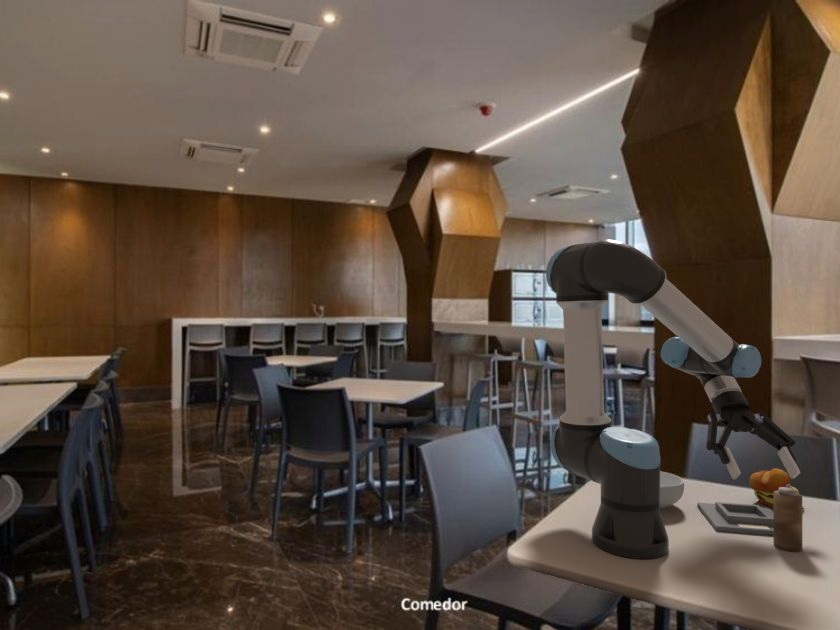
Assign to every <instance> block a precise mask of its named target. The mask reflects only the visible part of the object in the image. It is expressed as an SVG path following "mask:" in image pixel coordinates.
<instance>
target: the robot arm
mask: <svg viewBox="0 0 840 630" xmlns="http://www.w3.org/2000/svg"><path fill="white" fill-rule="evenodd" d="M545 269H546V270H545V279H546V283H547V285H548V287H550V290H551V291H552V292H553V293H554V294H555V297H556V298H555V299H556V300H555V301H556V302H555V303H556V304H557V305H558V306H559V307H560V308H561V309H562V311H563V312H562V315H563V345H564V346H563V348H564V350H563V351H564V352H563V353H564V357H563V358H564V359H563V360H564V390H565V393H564V394H565V398H564V399H565V411H564V412H563V413H562V414H561V415H560V417H559V421H558V422H559V424H558V425H557V426H556V427H555V428H554V431H553V432H551V433H552V434H551V436H550V443H549V444H550V446H549V447H550V451H551V455H552V459H554V461H555V463H556V464H557V465H558V466H559V467H560V468H562V469H563V470H565V471H567V472H568V473H570V474H572V475H575V476H578V477H582V478H584V479H586V480H589V481H592V482H594V483H597V484H599V485H600V505H599V508H598V510H597V513H596V515H595V519H594V521H593V525H592V528H591V541H592V542H593V544H594V545H595V546H597V547H598V548H599V549H600V550H601V549H602V550H603V551H605V552H607V553H609V554H613V555H616V556H619V557H620V556H621V557H625V558H631V559H641V560H642V559H645V560H647V559H656V558H660V557H663V556H665V555H667V554H668V552H669V542H670V540H669V536H668V533H667V530H666V526H665V523H664V520H663V517H662V514H661V511H660V510H661V509H659V500H660V471H661V462H662V461H661V459H662V458H661V455H660V446H659V442H658V441H657V439H656V438H654V437H653V435H650V434H649V433H647V432H645V431H642V430H638V429H634V428H628V427H621V426H612V418H611V417H610V416H608V414H606V412H605V403H604V402H605V401H604V399H605V397H604V360H603V359H604V357H603V356H604V355H603V354H604V352H603V322H602V321H603V318H602V317H603V316H602V315H603V314H602V313H603V312H602V310H603V308H604V307H605V305H607V304H608V303H609V294H615V295H618V296H621V297H623V298H625V299H626V300H627V301H628V302H630V303H631V304H632V305H641V306H642V307H643V308H644V309H645V310H646V311H648V312H649V314H651V315H652V316H653V317H655V319H657V320H658V321H660V323H661V324H662V325H663V326H665V327H666V328H667V329H668V330H670V331H671V332H672V333H673V334H674V335H675V336H673V337H669V338H668V339H667V340H665V342H664V343H663V345H662V347H661V349H660V350H661V351H660V357H661V360H662V361H663V363H664V364H666V365H668V366H669V367H671V368H672V369H676V370H679V371H681V372H684V373H686V374H689V375H691V376H693V377H696V378H697V379H699V381H700V383H701V385H702V386H703V390H704V392H705V393H706V395H707V397H708V399H709V402H710V403H711V406H712V408H713V409H714V411H710V413H709V414H708V415H707V417H706V421H707V423H708V424H707V427H708V428H707V437H706V447H705V448H706V450H707V451H713V453H714V455H717V456H718V457H719V460H720V461H721V463H722V464H723V465H725V466H726V469H727V471H728V472H729V474H730V476H731V479H732V480H737V479H738V477H740V475H741V474H742V472H741V470H740V468H739V466H738V464H737V461H736V460H735V458H734V455H733V453H732V451H731V449H730V447H728V446H727V447H725V446H726V444H727V442H728V440H729V437H730V436H731V433H732V431H733V432H734V433H740V432H742V433H750V434H751V435H755V436H757V437H758V438H760V439H761V440H763V441H764V442H765V443H767V444H769V445H770V446H772V447H773V448H774V449H777V450H778V451H777V455H778V457H779V458H780V460H781V463H782V464H783V466H784V468H785V470H786V472H787V474H788V475H789V476H790V477H791V479H795V478H797V476H799V475H800V474H801V471H800V469H799V467H798V465H797V463H796V460H797V459H796V457H795V455H794V454H793V452H792V450H791V449H792V448H794V446H795V445H796V441H795V440H794V439H793V438H792V437H791V436H789V435H788V433H786V432H785V431H784V430H783V429H781V427H780V426H778V425H777V424H776V423H775V422H774V421H772V420H771V419H770V417H769V416H768V415H767V413H766V412H765V411H760V412H759V413H755V414H754V412H752V411H751V410H750V404H749V402H748V400H747V398H746V397H745V395H744V393H743V392H742V389H741V387H740V386H739V383H738V381H737V380H736V379H737V378H753V377H754V376H756V374H758V373H759V371H760V368H761V367H762V357H761V354H760V351H759V350H758V348H757V347H755V346H753V345H749V344H745V343H742V344H739V343H737V342H736V341H735V340H734V339H733V338H732V337H731V336H729V334H728V333H726V332H725V331H724V330H723V329H722V328H721V327H720V326H719V325H717V324H716V323H715V322H714V321H713V320H712V319H711V318H710V317H709V316H708V315H707V314H705V313H704V312H703V311H702V310H701V309H700V308H699V307H698V306H697V305H695V304H694V303H693V302H692V300H690V299H689V298H688V297H687V296H686V295H685V294H684V293H682V292H681V290H679V289H678V288H677V287H676V286H675V285H674V284H673V283H672V282H670V281H669V279H668V278H667V273H666V271H665V269H664V268H662V267H661V266H660V264H658V263H657V262H656V261H655V260H654V259H652V258H651V257H649V256H648V255H647V254H646V253H644V252H642V251H641V250H639V249H637V248H636V247H634V246H632V245H630V244H627V243H625V242H622V241H620V240H615V239H602V240H597V241H592V242H591V241H590V242H583V243H577V244H571V245H569V246H567V247H565V246H564V247H562V248H560V249H558V250H557V251H555V253H554V254H552V256H551V257H550V259H549V261H548V262H547V265H546V268H545ZM735 378H736V379H735ZM719 422H720V423H722V425H724V428H723V430H722V433H721V435H720V438H719V440H718V441H717V434H718V425H719ZM754 426H755V427H754ZM753 427H754V428H753Z"/></svg>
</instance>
